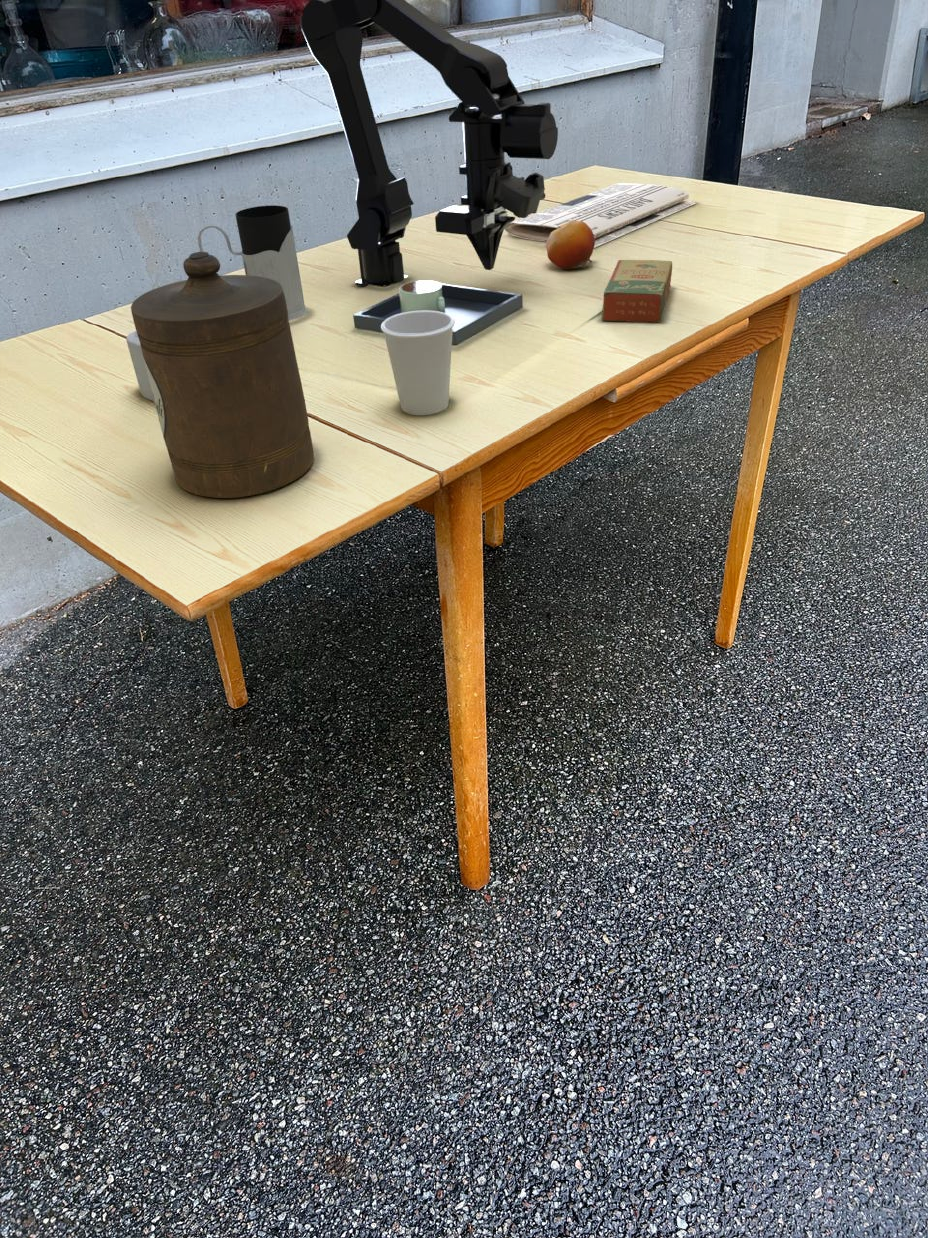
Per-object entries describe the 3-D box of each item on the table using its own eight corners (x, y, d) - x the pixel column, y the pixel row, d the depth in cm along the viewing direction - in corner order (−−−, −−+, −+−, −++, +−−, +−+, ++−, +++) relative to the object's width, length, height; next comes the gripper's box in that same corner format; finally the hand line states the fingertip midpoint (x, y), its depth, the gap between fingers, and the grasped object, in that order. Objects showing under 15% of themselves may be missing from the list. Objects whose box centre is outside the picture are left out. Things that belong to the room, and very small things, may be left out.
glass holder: (307, 323, 137) (289, 215, 129) (211, 331, 137) (187, 224, 128) (310, 305, 144) (294, 202, 136) (219, 312, 144) (197, 209, 135)
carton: (671, 288, 141) (673, 259, 139) (661, 323, 129) (663, 292, 126) (616, 286, 143) (617, 257, 140) (601, 321, 131) (602, 290, 128)
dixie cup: (404, 425, 106) (395, 339, 100) (380, 400, 112) (370, 318, 106) (471, 410, 108) (466, 325, 102) (443, 386, 115) (437, 305, 109)
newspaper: (612, 194, 194) (612, 180, 193) (696, 203, 184) (697, 188, 182) (505, 235, 172) (504, 219, 170) (593, 248, 162) (593, 231, 160)
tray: (355, 331, 133) (352, 314, 132) (426, 296, 145) (424, 280, 143) (456, 349, 125) (454, 331, 124) (523, 310, 136) (522, 294, 135)
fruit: (603, 263, 149) (578, 218, 146) (561, 288, 152) (536, 245, 149) (607, 249, 155) (583, 205, 152) (567, 274, 159) (542, 232, 156)
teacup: (394, 329, 131) (390, 289, 128) (418, 316, 135) (415, 277, 132) (433, 335, 128) (430, 295, 125) (457, 322, 132) (455, 283, 129)
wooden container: (218, 432, 107) (171, 232, 94) (335, 441, 103) (304, 234, 90) (147, 493, 96) (84, 275, 83) (277, 506, 92) (231, 279, 79)
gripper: (497, 172, 123) (501, 292, 132) (565, 147, 135) (565, 258, 144) (429, 168, 128) (437, 283, 137) (500, 143, 140) (504, 251, 149)
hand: (489, 269), depth 142 cm, fingers closed
